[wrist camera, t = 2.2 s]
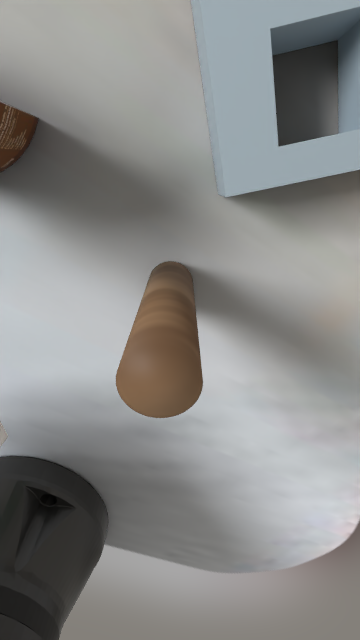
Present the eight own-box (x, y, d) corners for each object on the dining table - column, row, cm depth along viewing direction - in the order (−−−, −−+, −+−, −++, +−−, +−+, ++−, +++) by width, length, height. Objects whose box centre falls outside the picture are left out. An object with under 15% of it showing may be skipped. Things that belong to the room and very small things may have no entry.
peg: (196, 299, 23) (209, 410, 12) (154, 307, 23) (128, 423, 12) (188, 257, 22) (194, 337, 11) (144, 266, 22) (105, 352, 11)
